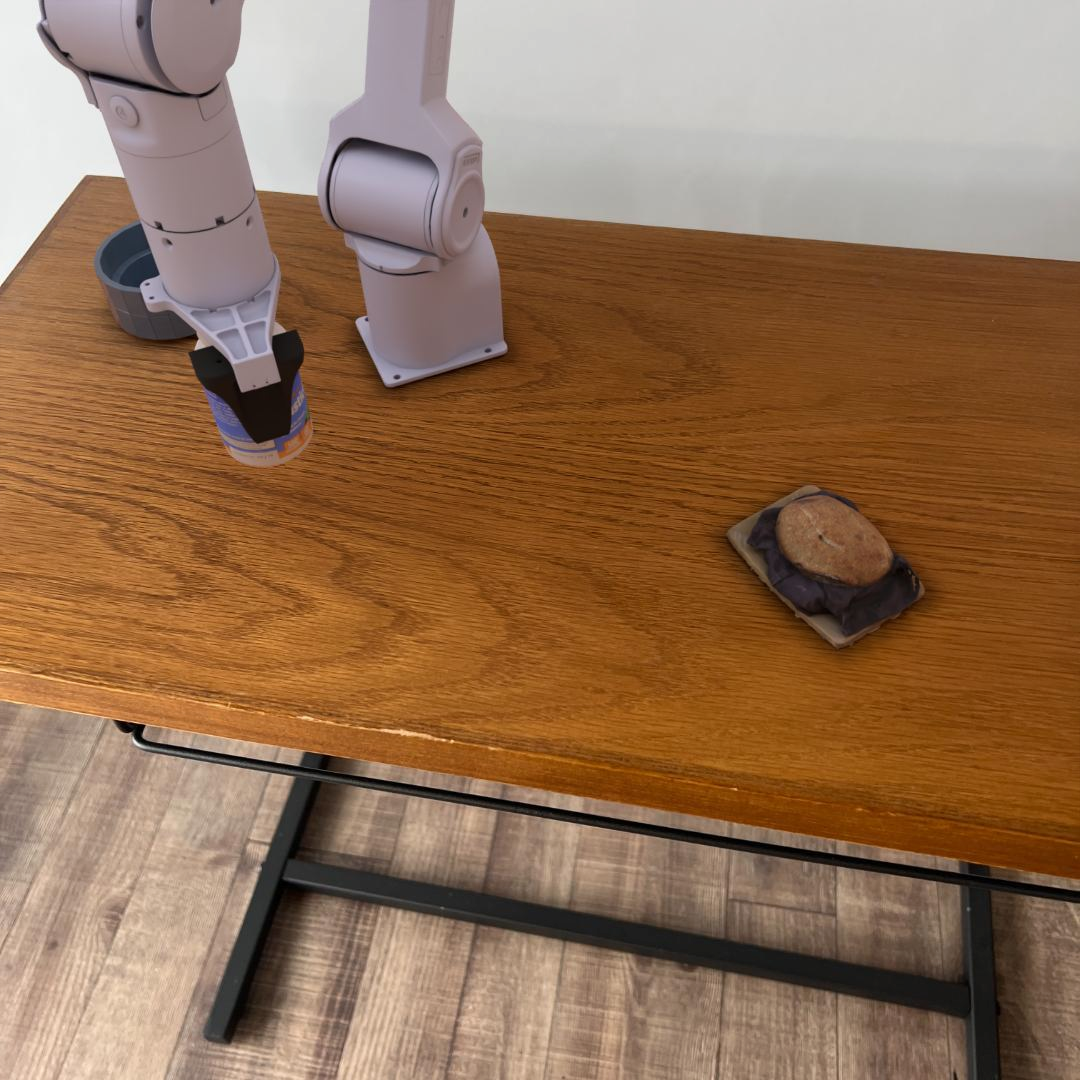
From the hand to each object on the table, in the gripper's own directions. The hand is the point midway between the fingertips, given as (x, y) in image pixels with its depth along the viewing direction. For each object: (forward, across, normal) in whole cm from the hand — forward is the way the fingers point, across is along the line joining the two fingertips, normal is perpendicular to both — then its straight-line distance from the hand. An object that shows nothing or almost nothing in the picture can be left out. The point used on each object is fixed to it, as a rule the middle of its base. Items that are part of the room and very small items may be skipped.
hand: (258, 401), depth 63 cm
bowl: (+10, -24, -3) cm, 26 cm away
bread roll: (+10, +18, +29) cm, 36 cm away
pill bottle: (+3, 0, 0) cm, 3 cm away
